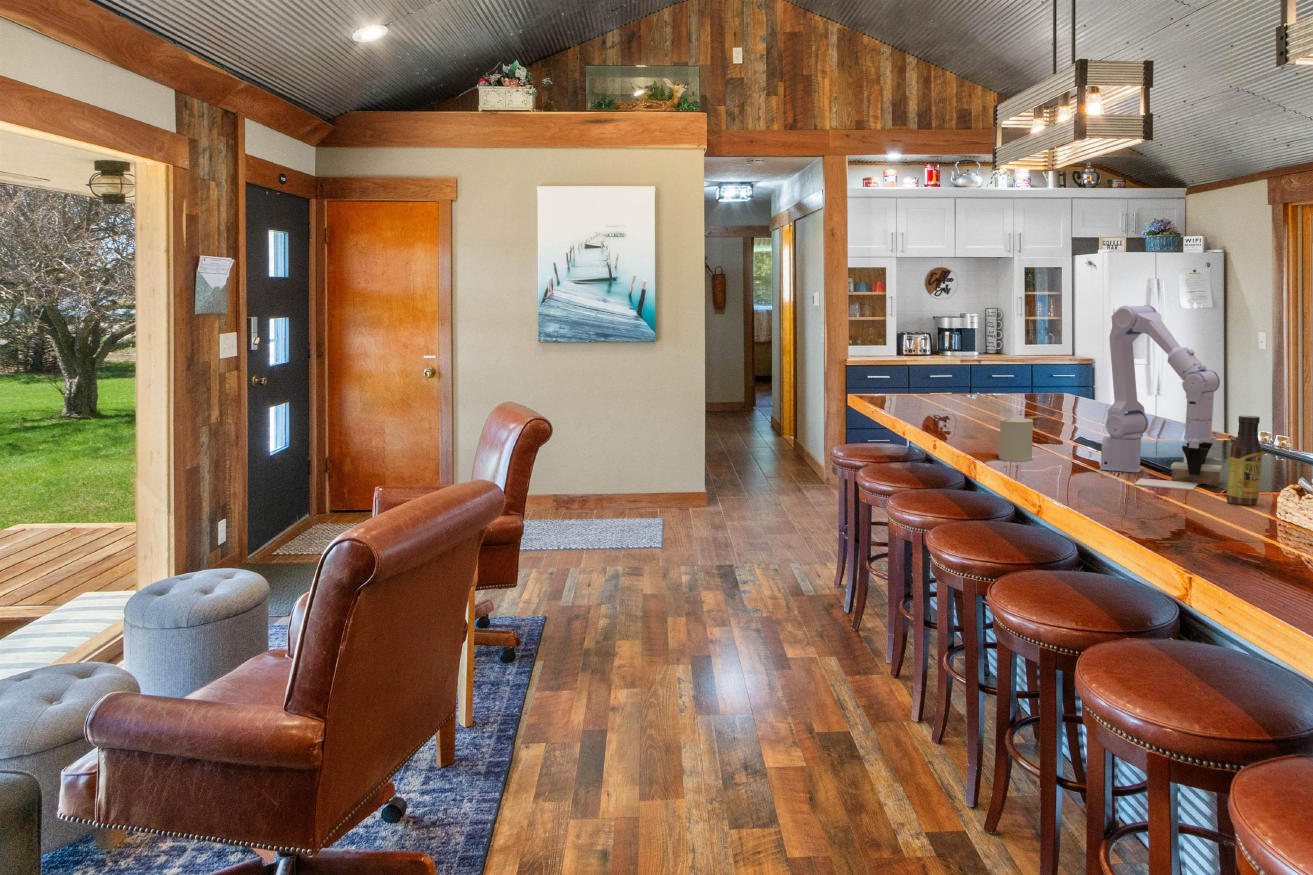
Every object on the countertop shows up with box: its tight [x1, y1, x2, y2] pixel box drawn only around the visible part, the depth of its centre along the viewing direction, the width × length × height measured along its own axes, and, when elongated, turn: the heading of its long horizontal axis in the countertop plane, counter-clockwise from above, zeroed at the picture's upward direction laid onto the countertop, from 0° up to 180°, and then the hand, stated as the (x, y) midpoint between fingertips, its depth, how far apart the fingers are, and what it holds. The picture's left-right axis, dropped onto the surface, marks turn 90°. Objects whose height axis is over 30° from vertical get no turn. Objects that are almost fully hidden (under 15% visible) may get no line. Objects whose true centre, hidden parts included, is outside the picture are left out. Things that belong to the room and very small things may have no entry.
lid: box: [1170, 461, 1223, 473], centre depth 240 cm, size 11×6×1 cm, turn 54°
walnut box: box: [1170, 469, 1221, 486], centre depth 240 cm, size 10×5×4 cm, turn 54°
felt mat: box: [1133, 477, 1199, 492], centre depth 237 cm, size 13×8×1 cm, turn 54°
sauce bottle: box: [1226, 415, 1263, 506], centre depth 214 cm, size 6×6×20 cm
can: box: [998, 417, 1034, 462], centre depth 279 cm, size 9×9×12 cm
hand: (1195, 472), depth 240 cm, fingers closed on lid, 6 cm apart
